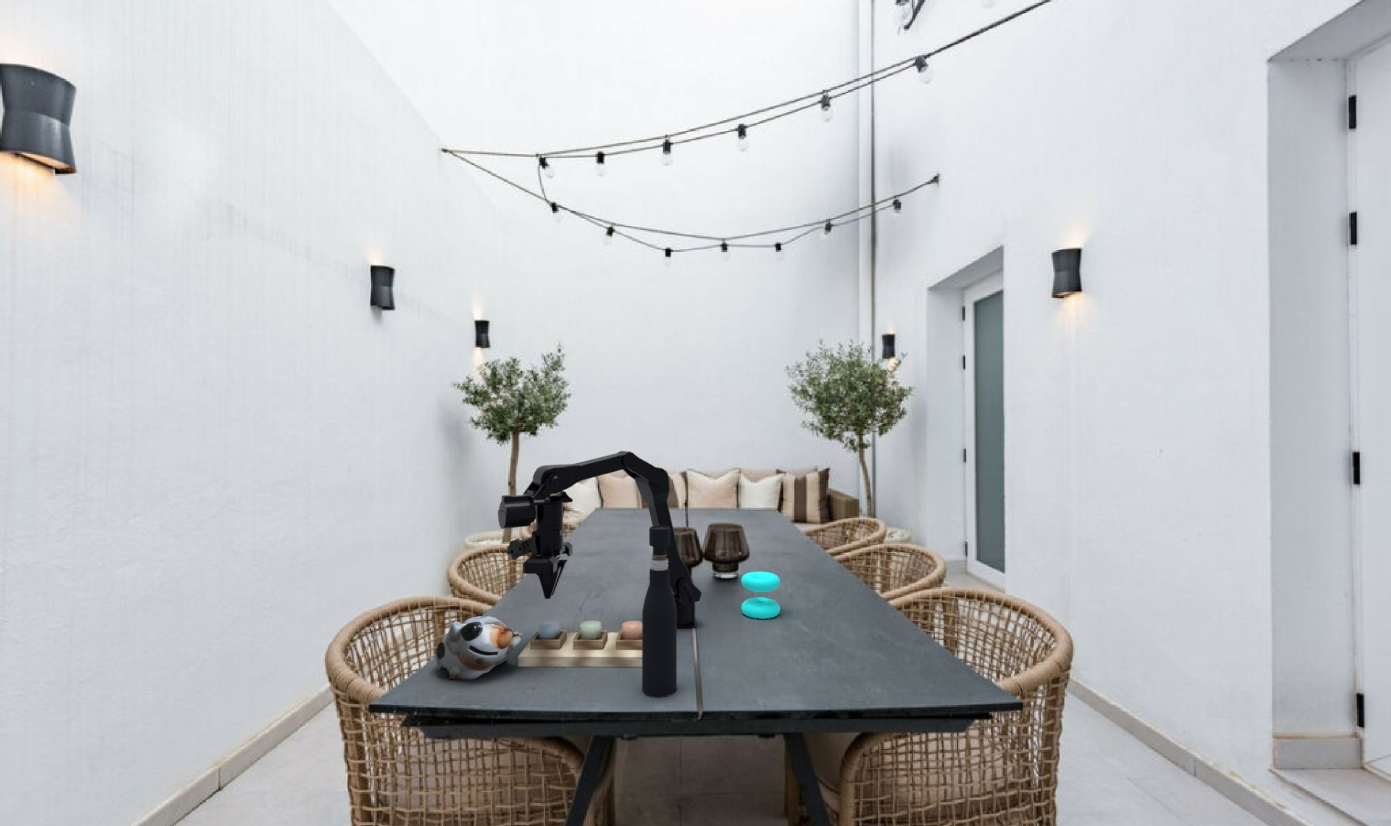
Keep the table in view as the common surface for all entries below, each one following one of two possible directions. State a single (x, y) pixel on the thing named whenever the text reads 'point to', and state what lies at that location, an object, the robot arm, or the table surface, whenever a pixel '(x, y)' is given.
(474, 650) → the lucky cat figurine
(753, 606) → the donuts
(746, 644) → the table surface
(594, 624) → the button sage
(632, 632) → the button terracotta
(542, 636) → the button slate
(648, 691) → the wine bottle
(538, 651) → the button board
